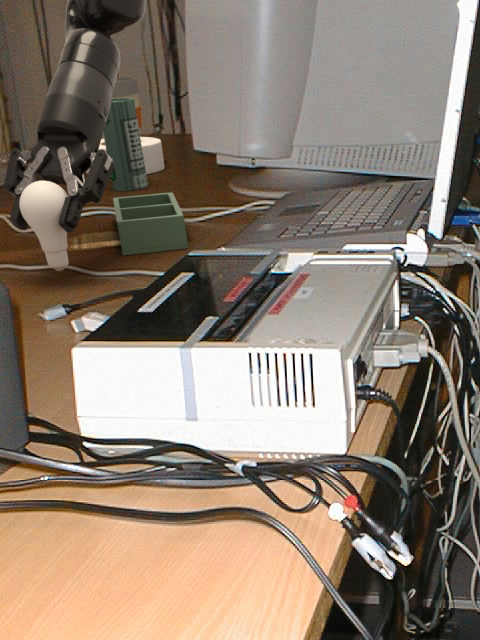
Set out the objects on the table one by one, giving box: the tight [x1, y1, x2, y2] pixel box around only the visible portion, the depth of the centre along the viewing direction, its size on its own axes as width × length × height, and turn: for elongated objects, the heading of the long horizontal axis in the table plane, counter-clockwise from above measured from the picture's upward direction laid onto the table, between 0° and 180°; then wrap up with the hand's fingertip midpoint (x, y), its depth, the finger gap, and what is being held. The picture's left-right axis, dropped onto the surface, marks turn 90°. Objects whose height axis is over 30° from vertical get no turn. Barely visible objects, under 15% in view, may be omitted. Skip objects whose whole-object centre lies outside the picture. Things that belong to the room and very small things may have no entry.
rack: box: [112, 192, 189, 256], centre depth 133 cm, size 17×9×5 cm, turn 16°
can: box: [103, 98, 149, 192], centre depth 165 cm, size 6×6×15 cm
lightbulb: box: [20, 180, 70, 272], centre depth 113 cm, size 6×6×11 cm
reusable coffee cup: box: [101, 76, 143, 139], centre depth 202 cm, size 13×13×15 cm
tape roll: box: [85, 136, 166, 178], centre depth 184 cm, size 16×16×6 cm
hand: (42, 227), depth 111 cm, fingers closed on lightbulb, 6 cm apart
